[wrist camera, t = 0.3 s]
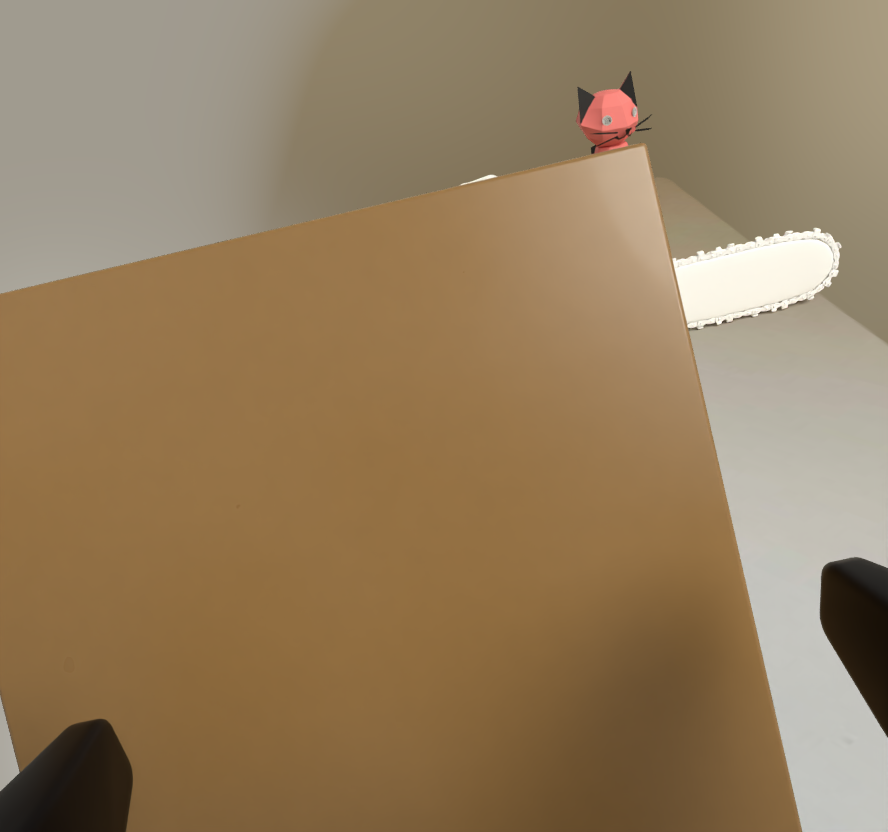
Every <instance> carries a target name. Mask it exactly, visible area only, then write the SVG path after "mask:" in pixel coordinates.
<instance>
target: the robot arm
mask: <svg viewBox="0 0 888 832" xmlns="http://www.w3.org/2000/svg"><path fill="white" fill-rule="evenodd" d="M820 620H821V624H822V628H823V630H824V632H825V634H826V636H827V638H828V640H829V641H830V643H831V645H832V646H833V648H834V650H835V651H836V653H837V655H838V656H839V658H840V660H841V661H842V663H843V665H844V666H845V668H846V670H847V671H848V673H849V675H850V676H851V678H852V680H853V681H854V683H855V685H856V686H857V688H858V690H859V691H860V693H861V695H862V696H863V698H864V700H865V701H866V703H867V705H868V706H869V708H870V710H871V711H872V713H873V715H874V716H875V718H876V719H877V721H878V723H879V724H880V726H881V728H882V729H883V731H884V732H885V734H886V736H887V737H888V568H886V567H884V566H881V565H878V564H876V563H873V562H871V561H868V560H865V559H862V558H858V557H854V558H848V559H843V560H839V561H834V562H830V563H828V564H826V565H825V566H824V568H823V570H822V575H821V597H820ZM132 788H133V772H132V767H131V764H130V761H129V759H128V757H127V755H126V753H125V751H124V749H123V747H122V745H121V743H120V741H119V739H118V737H117V735H116V733H115V731H114V729H113V727H112V725H111V724H110V723H109V722H108V721H107V720H105V719H94V720H89V721H85V722H80V723H76V724H73V725H70V726H69V727H67V728H66V729H65V730H64V731H63V732H62V733H61V734H60V735H59V736H58V737H57V738H56V739H54V740H53V741H52V742H51V743H50V744H49V745H48V746H47V747H46V748H45V749H44V750H43V751H42V752H41V753H40V754H39V755H38V756H37V757H36V758H35V759H34V760H33V761H32V762H31V763H30V764H29V765H27V766H26V767H25V768H24V769H23V770H22V771H21V772H20V773H19V774H18V775H17V776H16V777H15V778H14V779H13V780H12V781H11V782H10V783H9V784H8V785H7V786H6V787H5V788H4V789H3V790H2V791H0V832H126V828H127V821H128V815H129V808H130V801H131V794H132Z"/></svg>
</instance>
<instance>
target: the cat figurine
mask: <svg viewBox="0 0 888 832" xmlns="http://www.w3.org/2000/svg"><path fill="white" fill-rule="evenodd" d="M578 98H579V112H578V116H577V119H576V122H577V124H578V125H579V127H580V128H581V130H582V131H583V133H584V134H585V136H586V137H587V138H588V139H589V140H590V141H591V142H593V143H594V144H595V146H593V147H592V148H591V153H592V154H595V153H600V152H604V151H608V150H612V149H617V148H621V147H625V146H628V144H627V142H626V141H624V140H625V139H626V138H627V137H629V136H630V135H631V134H632V133H633V132H634V131H642V130H649V129H651V128H646V129H638V130H635V129H636V127H637V126H639V125H640V124H641V123H643V122H644V121H646V120H647V119H648V118H649V117H650V116H651V115H650V116H649V117H648V118H646V119H645V120H643V121H642V122H640V123H639V124H638V125H637V123H638V112H637V104H636V99H635V93H634V87H633V82H632V76H631V71H630V72H629V74H628V76H627V77H626V79H625V80H624V82H623V83H622V85H621V87H620V88H619V89H609V90H604V91H600V92H598V93H595V94H593V95H591V94H590V93H588V92H586V91H584V90H583V89H581V88H579V87H578Z"/></svg>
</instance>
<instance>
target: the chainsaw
mask: <svg viewBox="0 0 888 832" xmlns="http://www.w3.org/2000/svg"><path fill="white" fill-rule="evenodd" d="M494 177H497V176H495V175H488V176H485V177H483V178H480V179H477V180H474V181H472V182H477V181H481V180H485V179H489V178H494ZM472 182H469V183H472ZM464 184H468V183H463V184H461V185H464ZM813 230H814V231H812V232H809V231H808V232H803V233H798V232H797V233H793V234H791V233H792V232H793V231H787V232H785V235H784V236H779V234H774V235H773V236H774V237H770V238H765V239H764V240H762V237H756V238H755V239H756V241H754V242H748V243H746V244H744V245H742V244H739V245H735V246H734V247H733V245H734V243H732V244H728V245H727V248H726V249H721V247H717V248H715V249H716V251H711V252H708V253H706V254H704V251H698V252H697V254H698V255H696V256H691V257H688V258H687V259H679V260H677V261H676V258H672V260H673V264H674V268H675V273H676V277H677V282H678V286H679V290H680V295H681V299H682V304H683V308H684V312H685V317H686V321H687V326H688V328H694V327H697V329H702V328H703V325H705V324H712V323H715V322H716V324H717V325H719V324H722V322H721V321H723V320H726V322H727V323H728V322H732V321H733V318H739V317H741V316H743V315H744V316H748V315H751V316H752V317H755V316H758V314H757V313H759V312H760V311H768V310H770V309H771V311H772V312H774V311H777V309H776V308H778V307H780V306H782V307H781V309H785V308H788V304H793V303H796V302H797V301H802V300H805V299H806V298H807V300H811V299H813V298H814V296H813V295H814V294H815V293H817V292H820V291H821V290H822V289H823V288H824V286H827V287H829V286H830V285H831V282H830V280H831V278H832V277H833V276H835V277H836V276H837V273H838V270H836V269H837V268H838V265H839V262H838V259H839V257H840V254H839V252H838V250H839V249H838V248H841V244H840V243H839V242H836V243H834V240H833V237H832V236H831V235H830V234H828V233H825V234H823V233H821V234H820V231H821V230H820V229H818V228H813ZM801 238H804V239H801ZM810 238H812V239H810ZM818 238H819V239H821V240H822V241H824V242H825V243H826V244H825V243H824V242H822V241H819V240H816V239H818ZM828 245H829V246H828Z"/></svg>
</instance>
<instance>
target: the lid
mask: <svg viewBox="0 0 888 832" xmlns="http://www.w3.org/2000/svg"><path fill="white" fill-rule="evenodd" d="M0 696H1V700H2V704H3V708H4V712H5V716H6V720H7V724H8V728H9V732H10V736H11V740H12V744H13V748H14V752H15V755H16V759H17V763H18V767H19V771H20V772H21V771H22V770H23V769H24V768H25V767H26V766H27V765H29V764H30V763H31V762H32V761H33V760H34V759H35V758H36V757H37V756H38V755H39V754H40V753H41V752H42V751H43V750H44V749H45V748H46V747H47V746H48V745H49V744H50V743H51V742H52V741H53V740H54V739H56V738H57V737H58V736H59V735H60V734H61V733H62V732H63V731H64V730H65V729H66V728H67V727H69V726H70V725H73V724H76V723H80V722H85V721H89V720H94V719H105V720H107V721H108V722H109V723H110V724H111V725H112V727H113V729H114V731H115V733H116V735H117V737H118V739H119V741H120V743H121V745H122V747H123V749H124V751H125V753H126V755H127V757H128V759H129V761H130V764H131V767H132V772H133V788H132V794H131V801H130V808H129V815H128V821H127V828H126V832H802V828H801V824H800V820H799V815H798V811H797V806H796V802H795V797H794V793H793V789H792V784H791V780H790V775H789V771H788V767H787V762H786V758H785V753H784V749H783V745H782V740H781V736H780V731H779V727H778V723H777V718H776V714H775V709H774V705H773V700H772V696H771V692H770V687H769V683H768V678H767V674H766V670H765V665H764V661H763V656H762V652H761V648H760V643H759V639H758V634H757V630H756V626H755V621H754V617H753V612H752V608H751V603H750V599H749V595H748V590H747V586H746V581H745V577H744V573H743V568H742V564H741V559H740V555H739V551H738V546H737V542H736V537H735V533H734V529H733V524H732V520H731V515H730V511H729V506H728V502H727V498H726V493H725V489H724V484H723V480H722V476H721V471H720V467H719V462H718V458H717V454H716V449H715V445H714V440H713V436H712V432H711V427H710V423H709V418H708V414H707V409H706V405H705V401H704V396H703V392H702V387H701V383H700V379H699V374H698V370H697V365H696V361H695V357H694V352H693V348H692V343H691V339H690V335H689V330H688V326H687V321H686V317H685V312H684V308H683V304H682V299H681V295H680V290H679V286H678V282H677V277H676V273H675V268H674V264H673V260H672V255H671V251H670V246H669V242H668V238H667V233H666V229H665V224H664V220H663V215H662V211H661V207H660V202H659V198H658V193H657V189H656V185H655V180H654V176H653V172H652V167H651V163H650V158H649V154H648V149H647V146H646V145H645V144H644V143H638V144H634V145H630V146H625V147H621V148H617V149H612V150H608V151H604V152H600V153H595V154H591V155H587V156H583V157H578V158H574V159H570V160H566V161H562V162H557V163H553V164H549V165H544V166H540V167H536V168H532V169H528V170H524V171H519V172H515V173H511V174H506V175H502V176H498V177H494V178H489V179H485V180H481V181H477V182H472V183H468V184H464V185H460V186H455V187H451V188H447V189H443V190H438V191H434V192H430V193H426V194H422V195H417V196H413V197H409V198H404V199H400V200H396V201H392V202H388V203H384V204H379V205H375V206H370V207H367V208H362V209H358V210H354V211H349V212H345V213H341V214H337V215H332V216H328V217H324V218H320V219H315V220H311V221H307V222H303V223H298V224H294V225H290V226H286V227H281V228H278V229H273V230H269V231H264V232H260V233H256V234H252V235H247V236H243V237H239V238H235V239H230V240H227V241H222V242H218V243H214V244H209V245H205V246H201V247H197V248H193V249H188V250H184V251H180V252H175V253H171V254H167V255H163V256H158V257H155V258H150V259H146V260H141V261H137V262H133V263H129V264H124V265H120V266H116V267H112V268H107V269H103V270H99V271H95V272H90V273H86V274H82V275H78V276H73V277H69V278H65V279H61V280H56V281H53V282H48V283H44V284H39V285H36V286H31V287H27V288H23V289H19V290H14V291H10V292H6V293H1V294H0Z"/></svg>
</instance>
